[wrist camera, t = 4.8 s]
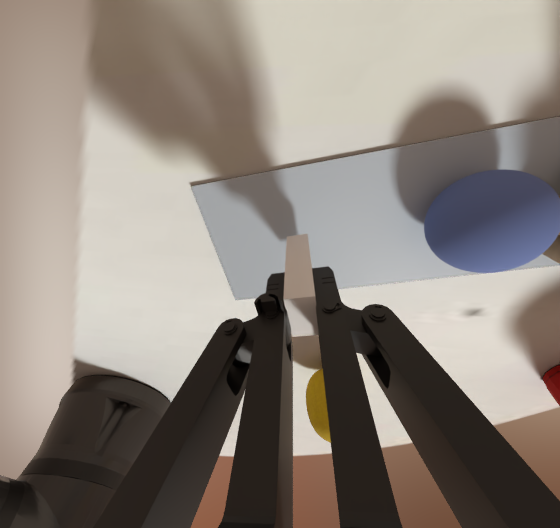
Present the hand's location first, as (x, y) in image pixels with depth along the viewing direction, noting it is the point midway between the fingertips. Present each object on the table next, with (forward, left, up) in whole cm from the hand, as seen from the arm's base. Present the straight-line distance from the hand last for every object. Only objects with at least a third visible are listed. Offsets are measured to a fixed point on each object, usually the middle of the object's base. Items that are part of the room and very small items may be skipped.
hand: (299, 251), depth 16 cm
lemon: (+1, -18, -2) cm, 18 cm away
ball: (+11, +1, +1) cm, 11 cm away
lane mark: (+8, 0, -2) cm, 8 cm away
